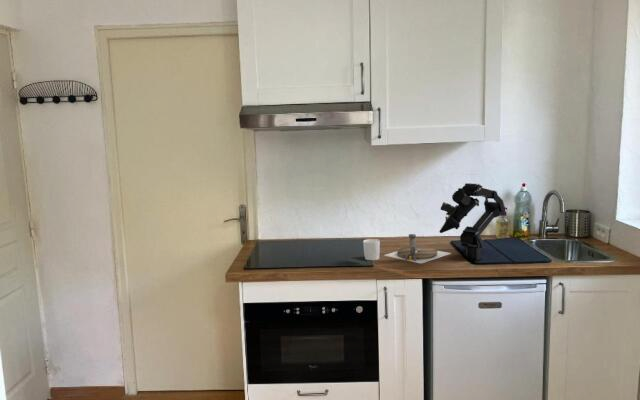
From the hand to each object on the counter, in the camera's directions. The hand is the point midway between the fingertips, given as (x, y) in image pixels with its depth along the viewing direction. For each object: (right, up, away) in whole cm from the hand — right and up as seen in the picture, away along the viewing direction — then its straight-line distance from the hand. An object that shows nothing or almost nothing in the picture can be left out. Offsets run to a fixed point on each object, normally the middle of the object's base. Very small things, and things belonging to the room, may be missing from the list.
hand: (440, 232), depth 234 cm
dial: (-9, -11, +10) cm, 17 cm away
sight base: (-9, -13, +10) cm, 18 cm away
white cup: (-31, -14, +7) cm, 35 cm away
